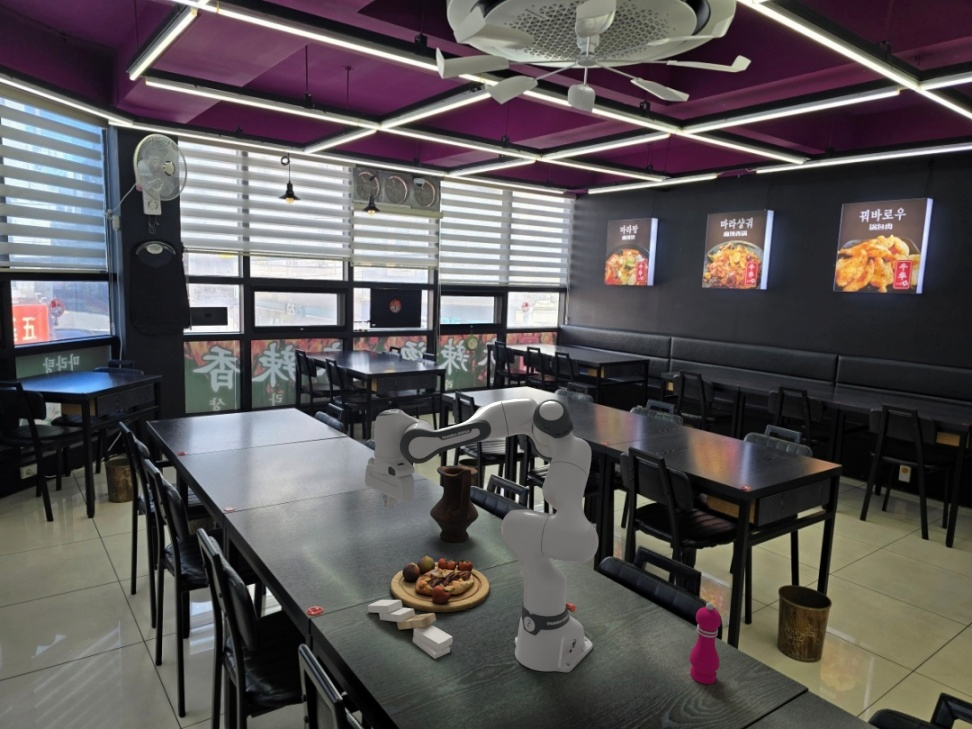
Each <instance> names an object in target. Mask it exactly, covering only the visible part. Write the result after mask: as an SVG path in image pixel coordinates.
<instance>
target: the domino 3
mask: <svg viewBox="0 0 972 729" xmlns="http://www.w3.org/2000/svg"><path fill="white" fill-rule="evenodd" d="M435 613H436V612H429V613H423V614H415V616H414V617H412V618H410V619H407V620H405V621H403V622H396V625H397V628H398V630H407V629H415V628H418V627H425V626H427V625H429V624H432V623H434V622H436V621H437V618H436V614H435Z"/></svg>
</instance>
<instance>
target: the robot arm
mask: <svg viewBox="0 0 972 729" xmlns="http://www.w3.org/2000/svg"><path fill="white" fill-rule="evenodd" d="M574 427H575V426H574V423H573V421H572V417H571V414H570V411H569V409H568V408H567V406H566V404H564V402H562V401H561V400H559V399H555V398H554V399H553V398H548V399H544V400H542V401H541V402H539V403H538V402H537V401H536V400H534V398H531V397H516V398H507V399H501V400H497V401H494V402H490V403H488V404H485V405H483V406H481V407H479V408H478V409H477V410H476V411H475V412H474V413H473V414H472V416H471V417H470V418H469V419H467V420H465V421H464V422H462V423H459V424H455V425H452V426H446V427H444V428H440V429H439V428H438V429H435V428H434V427H433V425H432V424H431V423H430V422H428V421H426V420H423V419H419V418H415V417H413V416H410V415H409V414H407V413H405V411H403V410H402V409H399V408H393V409H392V408H391V409H386V410H383V411H381V412H380V413H378V415H377V416H376V418H375V423H374V433H373V434H374V437H373V440H374V443H375V448H374V452H373V456H372V457H370V458H369V459H368V460H367V465H366V467H365V474H364V484H365V486H366V487H367V488H370V489H372V490H374V491H376V492H379V494H380V498H381V501H382V507H383V508H385V509H387V510H393V509H394V503H395V501H396V500H397V501H399V502H402V503H407V502H410V501H412V500H413V499H414V497H415V478H414V476H413V474H414V473H415V472H416V471H415V467H414V465H412V464H415V465H416V464H421V465H422V464H426V463H427V462H428V461H430V460H432V459H433V458H434V457H436V456H437V455H439V454H441V453H443V452H447V451H451V450H454V449H458V448H462V447H465V446H468V445H472V444H474V443H479V442H485V441H493V440H497V439H503V438H509V437H512V436H516V435H526V436H528V442H529V443H530V445H531V446H532V447H533V449H534V451H535V452H536V454H537V456H538V457H539V458H540V459H542V460H543V461H545V462H547V463H549V465H548V469H547V472H546V475H545V478H544V481H543V485H542V487H541V492H542V496H543V499H544V500H545V501H546V502H547V503H548V504H549V505H550V506H551V507H552V508H553V509H555V510H556V512H555V513H548V512H542V511H538V510H533V509H511V510H510V511H509V512H508V513H507V514H505V516H504V518H503V520H502V522H501V526H500V534H501V539H502V540H503V543H504V544H505V545H506V546H507V547H508V549H510V550H511V552H513V555H514V556H515V558H516V560H517V561H518V563H519V565H520V568H521V572H522V575H523V589H524V590H523V591H524V592H523V593H524V594H523V601H522V603H521V604H522V605H521V610H520V612H521V615H520V620H519V624H518V630H517V631H518V632H517V636H515V638H514V645H515V649H514V655H515V658H516V660H517V661H518V662H519V663H520V665H522V666H524V667H526V668H529V669H530V670H533V671H539V672H559V673H560V672H561V673H570V672H572V671H573V669H574V668H575V667H576V666H577V665H578V664H579V663H580V662H581V661H582V660H583V659H584V658H585V657H586V656H587V655H588V654H589V653H590V652H591V651H592V649H593V648H594V647H593V642H592V641H591V640H590V639H589V638H588V637H587V636H585V629H584V626H583V625H582V623H580V621H579V620H577V619H576V618H574V617H572V616H571V615H570V614H569V611H570V612H571V613H575V611H577V610H576V609H577V605H576V604H572V603H571V602H568V603H567V590H568V582H567V578H566V576H565V574H564V572H563V571H562V570H561V569H559V567H557V565H555V564H554V563H553V562H552V560H551V559H553V560H557V561H561V562H566V563H573V564H574V563H578V564H579V563H580V564H581V563H588V562H589V561H591V560H592V559H593V558H594V557H595V555H596V553H597V551H598V548H599V535H598V533H597V530H596V529H595V527H594V526H593V524H592V523H591V522H590V521H589V520H588V518H587V517H586V515H585V512H584V508H583V501H584V495H585V489H586V487H587V481H588V478H589V475H590V469H591V463H592V448H591V445H589V443H588V441H586V440H584V439H583V438H580V437H577V436H575V435H574V434H573V430H574Z"/></svg>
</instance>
